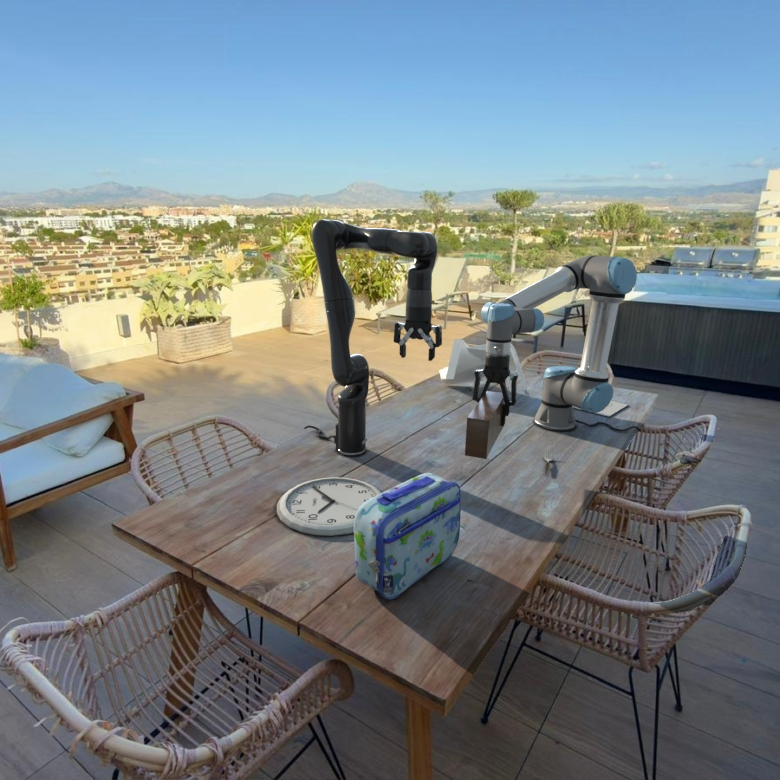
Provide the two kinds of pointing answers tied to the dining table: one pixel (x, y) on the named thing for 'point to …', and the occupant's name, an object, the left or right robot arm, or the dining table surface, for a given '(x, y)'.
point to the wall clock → (324, 505)
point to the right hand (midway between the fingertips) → (492, 423)
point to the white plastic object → (474, 365)
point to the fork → (548, 460)
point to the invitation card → (610, 408)
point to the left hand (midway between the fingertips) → (416, 358)
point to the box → (484, 425)
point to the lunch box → (406, 533)
